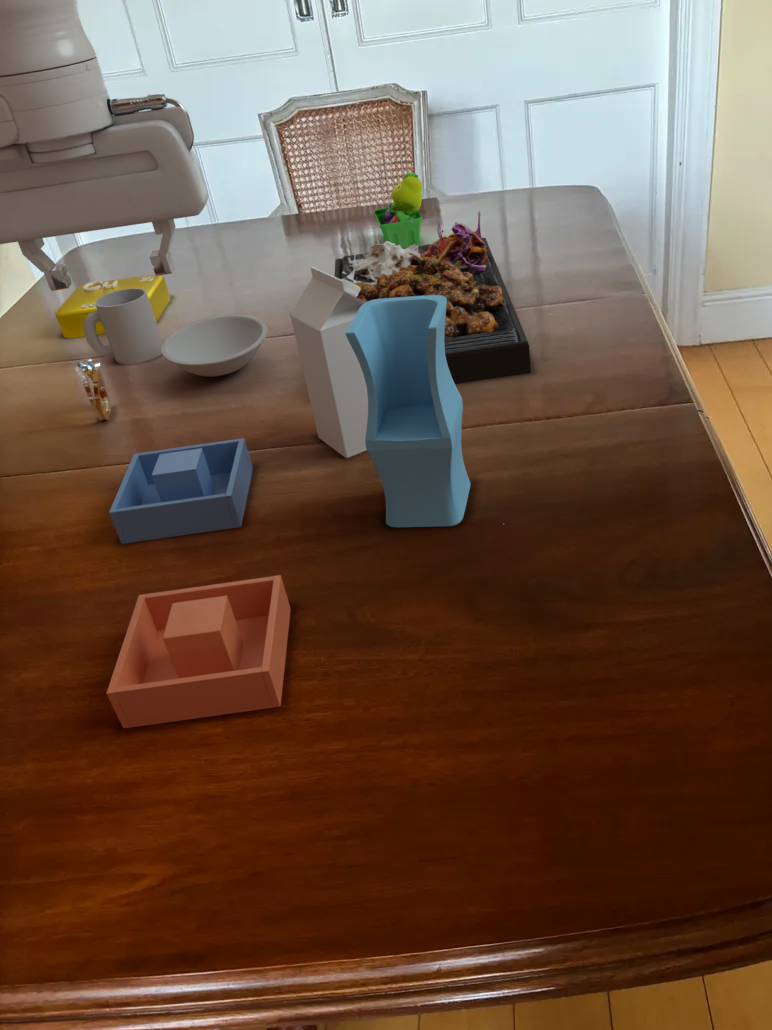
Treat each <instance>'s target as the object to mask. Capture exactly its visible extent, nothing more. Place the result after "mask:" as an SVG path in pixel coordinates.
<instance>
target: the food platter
mask: <svg viewBox="0 0 772 1030" xmlns="http://www.w3.org/2000/svg"><path fill="white" fill-rule="evenodd" d="M477 214H478V218H477V220H478V221H477V227H476V230H474V231H473V230H472V229H471V228H470V227H468V226H467V225H465V224H464V223H462V222H461V223H460V222H457V221H456V222H455V221H454V225H453V226H452V228H451V231H452V233H451V234H449V235H448V236H446V235H445V236H444V235H443V233H444V229H442V227H441V221H440V220H437V227H436V228H437V229H436V230H437V231H436V233H437V235H438V238H439V239H437V240H436V241H434V242H432V243H429V244H422V245H415V244H413V245H411V246H409V247H405V248H401V246H400V245H397V246H395V243H394V244H393V243H390V242H389V241H384V242H383V243H376V244H373V245H372V244H370V246H369V252H365V253H358V254H356V253H354V254H350V255H345V256H342V258H336V259H335V261H334V275H333V276H334V277H336V278H339V279H345V280H347V281H349V282H351V283H353V284H355V285H357V286H359V287H360V288H361V289H360V292H359V293H358V296H357V297H356V298H358V299H360V300H362V301H363V302H368V301H370V300H374V299H383V298H397V297H411V296H426V295H442V296H445V297H446V298H447V306H446V316H445V331H444V345H445V356H446V361H447V365H448V368H449V371H450V374H451V376H452V379H453V381H454V383H455V385H456V384H464V383H470V382H477V381H484V380H491V379H498V378H505V377H512V376H521V375H526V374H531V373H532V368H531V353H530V351H531V350H530V344H529V341H528V338H527V337H526V333H525V332H524V328H523V326H522V323H521V322H520V319H519V316H518V313H517V312H516V310H515V306H514V304H513V302H512V300H511V297H510V295H509V292H508V289H507V287H506V284H505V283H504V280H503V278H502V275H501V272H500V270H499V268H498V265H497V263H496V261H495V260H496V259H495V257H494V255H493V253H492V251H491V249H490V246H489V243H488V240H487V238H486V237H482V234H481V232H482V231H481V210H479V211H478V213H477Z"/></svg>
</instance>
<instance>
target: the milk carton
mask: <svg viewBox="0 0 772 1030" xmlns="http://www.w3.org/2000/svg"><path fill="white" fill-rule="evenodd" d="M310 271H311V276H312V278H311V279H310V280H309V282H308V284H307V285H306V287H305V289H304V291H303V292H302V294H301V295H300V297H299V299H298V300H297V302H296V304H295V305H294V307H293V308H292V310H291V311H290V313H289V315H290V320H291V324H292V329H293V333H294V337H295V342H296V346H297V351H298V355H299V359H300V363H301V367H302V373H303V377H304V381H305V385H306V389H307V393H308V399H309V402H310V407H311V412H312V415H313V420H314V425H315V429H316V433H317V438H319V439H320V440H321V441H322V442H324V443H325V444H326V445H328V446H329V447H331V448H332V449H333V450H334V451H335V452H337V453H338V454H340V455H341V456H342V457H344V458H345V459H348V458H351V457H354V456H356V455H359V454H361V453H363V452H365V451H366V452H367V449H366V443H365V437H366V429H367V420H368V394H367V386H366V382H365V378H364V374H363V372H362V369H361V366H360V364H359V361H358V359H357V357H356V355H355V352H354V350H353V349H352V347H351V345H350V343H349V341H348V339H347V337H346V334H345V333H346V331H347V329H348V327H349V326H350V324H351V322H352V321H353V319H354V317H355V315H356V314H357V312H358V310H359V309H360V307H361V306H362V305H363V304H364V303H365V302H363V301H362V300H360V299H358V298H356V297H357V296H358V293H359V292H360V289H361V288H360V287H359V286H357V285H355V284H353V283H351V282H349V281H347V280H345V279H339V278H336V277H334V275H332V274H329V273H327V272H326V271H323V270H321V269H318V268H316V267H314V266H310Z"/></svg>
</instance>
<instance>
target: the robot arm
mask: <svg viewBox="0 0 772 1030" xmlns="http://www.w3.org/2000/svg"><path fill="white" fill-rule="evenodd" d="M94 48H95V47H94V46H93V45H92V43H91V41H90V40H89V38H88V36H87V34H86V32H85V30H84V27H83V25H82V22H81V19H80V13H79V7H78V0H0V245H4V244H10V243H11V244H13V243H17V244H18V246H19V248H20V251H21V254H22V256H23V257H25V258H26V259H27V260H28V261H29V262H30V263H31V264H33V265H34V267H35V268H37V269H38V270H39V271H40V272H41V273H43V275H44V277H45V279H46V283H47V284H48V287H49V290H51V291H53V292H54V291H60V290H68V289H69V288H70V287H71V286H72V279H71V276H70V275H69V274H68V272H69V270H68V267H67V265H66V263H61V264H56V263H55V262H54V260H53V259H51V258H50V256H49V255H47V253H45V251H44V250H43V249H42V248H43V247H44V246H45V241H44V239H46V238H52V237H53V238H54V237H60V236H66V235H73V234H81V233H87V232H93V231H94V232H95V231H101V230H108V229H114V228H115V229H116V228H121V227H128V226H136V225H140V224H141V225H142V224H149V223H151V224H152V227H153V230H154V233H155V235H157V236H158V235H162V236H161V241H160V245H159V249H157V250H153V251H152V252H151V254H150V256H149V260H150V263H151V266H153V271H154V272H153V273H154V275H156V276H158V275H162V276H164V275H171V274H174V272H175V263H174V260H173V257H172V254H171V247H172V245H173V244H172V243H173V239H174V235H175V230H176V223H175V220H176V219H183V218H190V217H196V216H198V215H200V214H201V213H202V212H203V210H204V208H205V207H206V205H207V203H208V200H209V190H208V186H207V183H206V180H205V178H204V174H203V171H202V168H201V166H200V163H199V161H198V159H197V156H196V154H195V151H194V149H193V146H194V144H195V143H194V142H195V141H194V140H195V133H194V130H193V125H192V122H191V119H190V115H189V113H188V111H187V109H186V107H185V106H184V105H183V104H182V103H181V102H179V100H176V99H174V98H172V97H166V95H165V93H161V92H159V93H158V92H154V93H153V92H152V93H149V94H147V95H143V96H126V97H120V98H113V99H111V98H110V95H109V92H108V89H107V86H106V85H107V84H106V82H105V79H104V74H103V73H102V72H103V71H102V68H101V66H100V63H99V59H98V56H97V52H96V50H95V49H94ZM168 104H170V105H173V106H168Z"/></svg>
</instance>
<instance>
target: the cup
mask: <svg viewBox="0 0 772 1030" xmlns="http://www.w3.org/2000/svg"><path fill="white" fill-rule="evenodd" d="M95 305H96V308H97V310H96V311H93V312H91V313H90V314H89V315H88V316H87V317H86V319H85V321H84V332H85V338H86V342H87V343H88V345H89V347H90V348H91V349H92V351H94V352H95V354H97V355H99V356H101V357H107V358H112V357H114V360H115V362H116V363H118V364H122V365H134V364H140V363H144V362H145V363H146V362H147V361H148V362H149V361H151V360H153V359H156V358H158V357H159V356H161V355H162V353H161V347H162V344H163V342H164V341H163V338H162V336H161V332H160V329H159V326H158V323H157V322H156V320H155V317H154V314H153V311H152V308H151V304H150V301H149V298H148V295H147V292H146V291H145V290H144V289H140V288H130V289H123V290H118V291H114V292H111V293H108V294H106V295H103V296H101V297H100V298H98V299H97V300H96V301H95ZM100 321H101V322H102V324H103V327H104V330H105V332H106V334H105V336H106V337H107V340H108V343H109V345H104V344H103V343H102V341H101V340H100V338H99V335H97V332H96V324H97V323H98V322H100Z"/></svg>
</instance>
